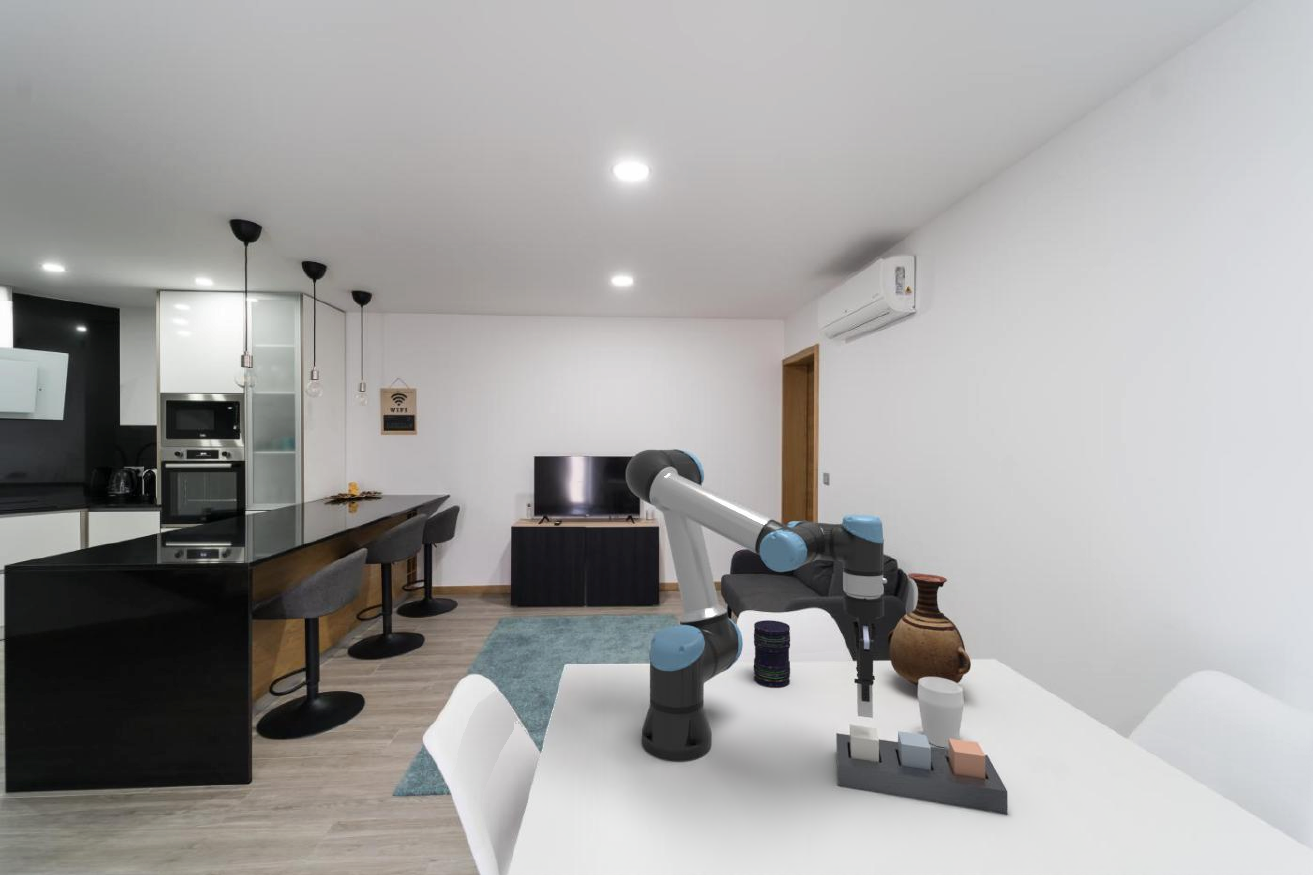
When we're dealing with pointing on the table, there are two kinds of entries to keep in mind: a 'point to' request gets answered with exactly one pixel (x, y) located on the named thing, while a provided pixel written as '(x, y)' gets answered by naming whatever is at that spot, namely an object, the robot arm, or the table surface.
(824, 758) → the table surface
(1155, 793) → the table surface
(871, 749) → the ivory key
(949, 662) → the vase
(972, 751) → the terracotta key
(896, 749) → the panel
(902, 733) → the slate key
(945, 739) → the cup
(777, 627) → the storage jar
